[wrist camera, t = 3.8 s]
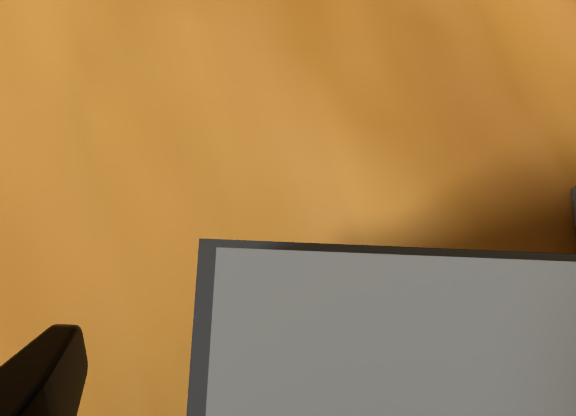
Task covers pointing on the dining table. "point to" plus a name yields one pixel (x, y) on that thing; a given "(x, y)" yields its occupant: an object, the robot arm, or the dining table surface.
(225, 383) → the dark gray plug block
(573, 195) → the socket holder
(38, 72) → the dining table surface
